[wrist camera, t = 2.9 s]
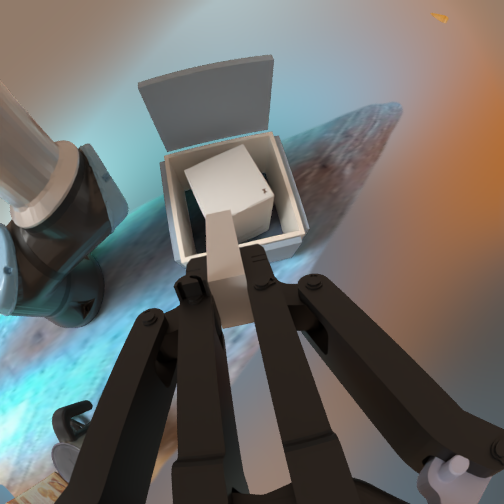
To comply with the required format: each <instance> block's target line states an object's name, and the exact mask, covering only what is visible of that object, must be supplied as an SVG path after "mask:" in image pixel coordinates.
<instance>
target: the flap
mask: <svg viewBox="0 0 504 504" xmlns="http://www.w3.org/2000/svg"><path fill="white" fill-rule="evenodd" d="M273 65H274V59H273V57H272V55H263V56H255V57H248V58H241V59H235V60H229V61H223V62H217V63H213V64H207V65H202V66H198V67H193V68H189V69H185V70H181V71H177V72H173V73H170V74H166V75H162V76H159V77H155V78H152V79H148V80H145V81H142V82H139V83H138V89H139V92H140V94H141V96H142V98H143V100H144V102H145V105H146V107H147V109H148V111H149V113H150V116H151V118H152V120H153V122H154V125H155V127H156V129H157V131H158V133H159V135H160V137H161V140H162V142H163V144H164V146H165V148H166V150H167V152H169V151H173V150H177V149H181V148H184V147H188V146H192V145H196V144H200V143H204V142H208V141H213V140H218V139H222V138H227V137H231V136H236V135H241V134H246V133H252V132H257V131H262V130H267V129H268V121H269V110H270V99H271V88H272V77H273Z"/></svg>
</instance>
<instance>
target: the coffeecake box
mask: <svg viewBox="0 0 504 504" xmlns="http://www.w3.org/2000/svg"><path fill="white" fill-rule="evenodd" d="M67 486H68V483H66V482H65V481H64V480H63V479H62V478H61V477H60V476H59V475H58V474H56V473H55V472H54V473H52V474H51V475H50V476H48V477H47V478H45V479H44V480H42V481H41V482H39V483H38V484H36V485H34V486H33V487H31V488H30V489H28V490H27V491H25V492H24V493H22V494H20V495H19V496H17V497H16V498H14V499H12V500H11V501H9V502H7V503H6V504H54V503H55V501H56V500H57V499H58V497H59V496H60V495H61V493H62V492H63V491H64V490H65V488H66V487H67Z"/></svg>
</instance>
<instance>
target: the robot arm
mask: <svg viewBox="0 0 504 504" xmlns="http://www.w3.org/2000/svg"><path fill="white" fill-rule="evenodd" d="M0 198H1V199H3V200H4V201H6V202H7V203H8V204H10V213H11V217H12V220H11V221H10V223H9V224H8V225H7V226H5V225H3V224H2V223H0V314H2V315H4V316H9V315H12V316H30V317H45V318H46V319H48V320H49V321H51V322H53V323H54V324H56V325H58V326H60V327H64V328H78V327H82V326H84V325H86V324H87V323H89V322H90V321H91V320H92V319H93V318H94V317H95V316H96V314H97V312H98V311H99V309H100V306H101V304H102V300H103V295H104V279H103V274H102V271H101V268H100V266H99V264H98V263H97V261H96V260H95V258H94V257H93V256H92V255H91V254H89V253H90V252H91V251H92V250H93V249H95V248H96V247H97V246H98V245H99V244H100V243H101V242H102V241H103V240H104V239H105V238H106V237H108V236H109V235H110V234H112V233H113V232H114V229H115V228H116V227H117V226H118V225H119V224H120V223H121V222H122V221H123V220H124V219H125V217H126V216H127V214H128V204H127V202H126V200H125V198H124V196H123V195H122V193H121V192H120V190H119V188H118V187H117V185H116V183H115V182H114V181H113V179H112V177H111V176H110V175H109V173H108V171H107V169H106V168H105V166H104V164H103V163H102V161H101V159H100V158H99V156H98V155H97V153H96V152H95V150H94V149H93V147H92V146H91V145H90V144H85V145H83V146H80V147H79V149H78V148H77V147H76V146H75V145H74V144H73V143H71V142H69V141H57V142H53V141H52V140H51V139H50V137H49V136H48V135H47V134H46V133H45V132H44V131H43V130H42V128H41V127H40V126H39V125H38V124H37V123H36V122H35V120H34V119H33V118H32V117H31V116H30V115H29V114H28V112H27V111H26V110H25V109H24V108H23V107H22V105H21V104H20V103H19V102H18V101H17V100H16V98H15V97H14V96H13V95H12V94H11V92H10V91H9V90H8V89H7V87H6V86H5V85H4V84H3V83H2V81H1V80H0ZM206 251H207V255H206V256H201V257H196V258H192V259H190V261H189V262H188V264H187V265H186V275H185V276H183V277H181V278H180V279H178V280H177V282H176V283H175V285H174V288H175V291H176V293H177V296H178V298H179V301H180V305H179V306H178V307H176V308H175V309H173V310H171V311H168V312H166V313H163V311H162V310H160V309H157V308H152V309H148V310H146V311H144V312H142V313H141V314H140V315H139V316H138V317H137V319H136V320H135V322H134V325H133V327H132V329H131V331H130V333H129V335H128V337H127V339H126V341H125V343H124V346H123V348H122V350H121V352H120V354H119V356H118V359H117V361H116V363H115V365H114V367H113V370H112V372H111V374H110V376H109V379H108V381H107V383H106V386H105V388H104V390H103V393H102V395H101V398H100V400H99V402H98V405H97V407H96V410H95V412H94V415H93V417H92V420H91V422H90V425H89V427H88V430H87V433H86V435H85V438H84V441H83V443H82V446H81V449H80V452H79V454H78V457H77V460H76V463H75V466H74V469H73V472H72V475H71V478H70V481H69V484H68V486H67V487H66V488H65V490H64V491H63V492H62V493H61V495H60V496H59V497H58V499H57V500H56V501H55V503H54V504H145V503H146V498H147V494H148V490H149V486H150V482H151V478H152V474H153V470H154V466H155V462H156V458H157V454H158V450H159V446H160V443H161V439H162V435H163V431H164V428H165V424H166V420H167V416H168V413H169V409H170V406H171V402H172V398H173V395H174V391H175V388H176V384H177V435H178V459H177V460H176V461H175V462H174V463H173V465H172V473H171V475H172V494H173V504H410V503H407V502H405V501H403V500H401V499H399V498H397V497H395V496H393V495H391V494H389V493H386V492H385V491H383V490H381V489H379V488H377V487H375V486H373V485H371V484H369V483H367V482H365V481H363V480H360V479H356V478H352V476H351V473H350V470H349V467H348V464H347V461H346V458H345V456H344V452H343V449H342V447H341V444H340V441H339V439H338V437H337V435H336V434H335V433H334V432H333V431H332V429H331V427H330V424H329V421H328V419H327V415H326V413H325V410H324V407H323V404H322V401H321V398H320V395H319V393H318V390H317V387H316V384H315V381H314V378H313V376H312V373H311V370H310V367H309V364H308V361H307V359H306V356H305V353H304V350H303V348H302V345H301V342H300V339H299V336H298V334H297V331H301V332H302V334H303V335H304V336H305V338H306V339H307V340H308V342H309V343H310V344H311V345H312V347H313V348H314V349H315V351H316V352H317V353H318V354H319V356H320V357H321V358H322V360H323V361H324V362H325V363H326V365H327V366H328V367H329V368H330V370H331V371H332V372H333V374H334V375H335V376H336V377H337V379H338V380H339V381H340V383H341V384H342V385H343V386H344V387H345V389H346V390H347V391H348V393H349V394H350V395H351V396H352V397H353V399H354V400H355V401H356V403H357V404H358V405H359V407H360V408H361V409H362V410H363V412H364V413H365V414H366V415H367V417H368V418H369V419H370V421H371V422H372V423H373V424H374V426H375V427H376V428H377V429H378V430H379V432H380V433H381V434H382V436H383V437H384V438H385V439H386V440H387V442H388V443H389V444H390V445H391V447H392V448H393V449H394V451H395V452H396V453H397V454H398V455H399V457H400V458H401V459H402V460H403V461H404V462H405V463H406V464H407V465H408V466H410V467H411V468H412V469H413V470H414V471H416V472H417V473H419V476H418V479H417V488H418V490H419V492H420V493H421V494H422V495H423V496H424V497H425V498H426V500H427V502H428V504H478V502H479V500H480V498H481V496H482V494H483V492H484V490H485V489H486V487H487V485H488V483H489V481H490V479H491V477H492V476H493V475H495V474H496V473H498V472H500V471H501V470H503V469H504V429H502V428H500V427H497V426H495V425H493V424H491V423H489V422H487V421H485V420H483V419H480V418H478V417H476V416H474V415H472V414H470V413H468V412H466V411H464V410H462V409H461V408H460V407H459V406H458V404H457V403H456V402H455V401H454V400H453V399H452V398H451V397H450V396H449V395H448V394H447V393H446V392H445V391H444V390H443V389H442V388H441V387H440V386H439V385H438V384H437V383H436V382H435V381H434V380H433V379H432V378H431V377H430V376H429V375H428V374H427V373H426V372H425V371H424V370H423V369H422V368H421V367H420V366H419V365H418V364H417V363H416V362H415V361H414V360H413V359H412V358H411V357H410V356H409V355H408V354H407V353H406V352H405V351H404V350H403V349H402V348H401V347H400V346H399V345H398V344H397V343H396V342H395V341H394V340H393V339H392V338H391V337H390V336H389V335H388V334H387V333H386V332H384V330H382V329H381V328H380V327H379V326H378V325H377V324H376V323H375V322H374V321H373V320H372V319H371V318H370V317H369V316H368V315H367V314H366V313H365V312H364V311H363V310H361V309H360V308H359V307H358V306H357V305H356V304H355V303H354V302H353V301H352V300H351V299H350V298H349V297H348V296H346V294H344V293H343V292H342V291H341V290H340V289H339V288H338V287H337V286H336V285H335V284H334V283H333V282H331V281H330V280H329V279H328V278H327V277H325V276H324V275H321V274H309V275H305V276H304V277H302V278H301V279H300V280H299V281H298V284H286V283H282V282H280V281H278V280H277V279H276V277H275V276H274V274H273V271H272V269H271V266H270V263H269V260H268V258H267V255H266V252H265V249H264V247H262V246H261V245H259V244H253V245H249V246H244V247H239V245H238V241H237V237H236V232H235V228H234V223H233V219H232V214H231V209H230V210H225V211H221V212H216V213H212V214H207V215H206ZM253 322H254V323H255V327H256V332H257V336H258V340H259V345H260V349H261V354H262V358H263V362H264V367H265V371H266V375H267V380H268V384H269V389H270V392H271V397H272V402H273V406H274V410H275V414H276V419H277V423H278V427H279V431H280V435H281V440H282V444H283V448H284V452H285V457H286V461H287V465H288V469H289V473H290V477H291V481H292V483H290V484H288V485H286V486H283V487H281V488H279V489H277V490H274V491H272V492H270V493H267V494H264V495H255V494H250V493H249V489H248V485H247V482H246V479H245V476H244V472H243V466H242V460H241V455H240V448H239V442H238V436H237V429H236V422H235V415H234V409H233V401H232V394H231V387H230V379H229V372H228V364H227V356H226V348H225V340H224V335H223V332H222V328H223V329H224V328H229V327H234V326H239V325H244V324H248V323H253ZM221 325H222V328H221Z"/></svg>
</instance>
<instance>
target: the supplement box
mask: <svg viewBox="0 0 504 504" xmlns="http://www.w3.org/2000/svg"><path fill="white" fill-rule="evenodd" d="M184 172H185V175H186V177H187V180H188V182H189V184H190V187H191V189H192V191H193V194H194V196H195V198H196V200H197V203H198V205H199V207H200V209H201V211H202V213H203V215H204V217H205V220H206V215H207V214H212V213H216V212H221V211H225V210H230V209H231V214H232V219H233V223H234V228H235V232H236V237H237V241H238V245H239V244H241V243H243V242H245V241H247V240H249V239H251V238H253V237H255V236H258V235H260V234H262V233H264V232H266V231H268V230H269V225H270V219H271V213H272V207H273V201H274V193H273V192H272V190H271V188H270V186H269V185H268V183H267V181H266V180H265V178H264V177H263V175H262V173H261V172H260V170H259V168H258V167H257V165H256V164H255V162H254V160H253V159H252V157H251V156H250V154H249V152H248V151H247V149H246V148H245V146H244V144H242V145H240V146H237V147H235V148H233V149H230V150H228V151H226V152H223V153H221V154H219V155H216V156H214V157H212V158H210V159H208V160H205V161H203V162H201V163H199V164H197V165H195V166H193V167H191V168H188V169H186V170H184Z"/></svg>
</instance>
